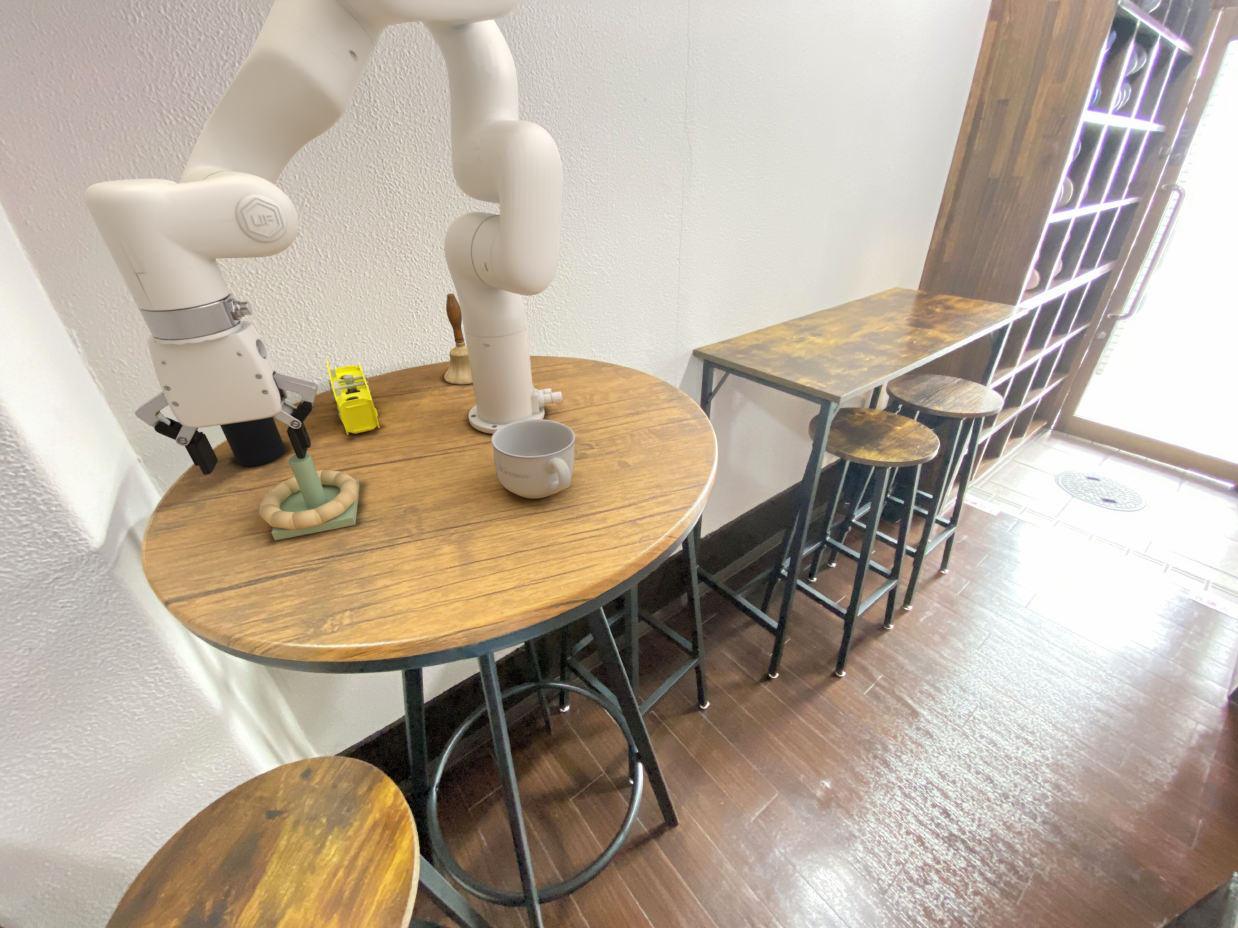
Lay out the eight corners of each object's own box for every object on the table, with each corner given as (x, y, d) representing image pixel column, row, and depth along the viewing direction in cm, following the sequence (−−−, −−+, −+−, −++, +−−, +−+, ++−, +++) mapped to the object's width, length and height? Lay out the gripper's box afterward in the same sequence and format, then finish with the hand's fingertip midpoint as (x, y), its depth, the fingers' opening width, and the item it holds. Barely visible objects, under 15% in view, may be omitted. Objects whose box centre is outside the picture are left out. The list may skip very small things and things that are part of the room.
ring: (360, 473, 74) (357, 461, 73) (357, 520, 65) (353, 507, 64) (271, 489, 71) (266, 477, 70) (255, 540, 62) (249, 527, 61)
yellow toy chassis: (336, 400, 96) (321, 356, 91) (369, 394, 98) (357, 351, 94) (345, 440, 84) (329, 392, 80) (383, 431, 86) (370, 384, 82)
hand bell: (465, 388, 100) (451, 303, 92) (435, 378, 104) (418, 296, 95) (496, 373, 106) (485, 292, 97) (466, 364, 110) (452, 285, 101)
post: (359, 485, 74) (343, 434, 69) (355, 525, 66) (336, 470, 62) (287, 498, 71) (265, 445, 67) (274, 540, 64) (248, 485, 60)
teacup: (491, 473, 76) (483, 424, 72) (563, 457, 80) (560, 409, 75) (515, 532, 65) (507, 478, 61) (597, 510, 69) (595, 458, 65)
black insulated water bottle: (264, 468, 77) (168, 250, 61) (226, 464, 78) (122, 248, 62) (295, 446, 83) (214, 239, 66) (259, 442, 84) (171, 237, 67)
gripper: (294, 299, 59) (340, 433, 68) (106, 316, 54) (183, 457, 64) (282, 320, 53) (334, 463, 62) (70, 341, 48) (161, 493, 58)
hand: (258, 460), depth 63 cm, fingers open, 9 cm apart
